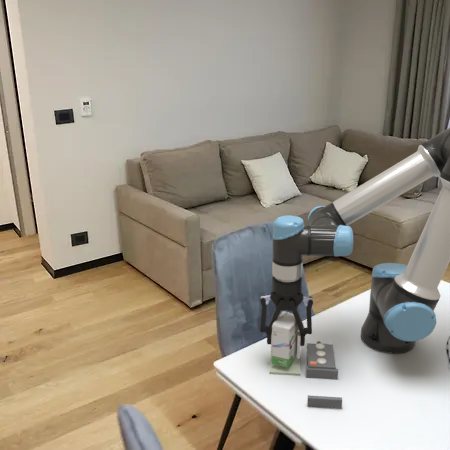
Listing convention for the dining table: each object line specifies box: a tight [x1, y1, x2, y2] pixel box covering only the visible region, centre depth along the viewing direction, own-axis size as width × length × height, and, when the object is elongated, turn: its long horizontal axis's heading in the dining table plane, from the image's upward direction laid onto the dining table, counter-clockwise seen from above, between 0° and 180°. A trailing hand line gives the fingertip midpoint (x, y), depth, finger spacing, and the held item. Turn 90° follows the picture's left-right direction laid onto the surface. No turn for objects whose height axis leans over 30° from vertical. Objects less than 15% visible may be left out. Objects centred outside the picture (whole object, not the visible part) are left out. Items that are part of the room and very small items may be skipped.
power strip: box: [305, 340, 343, 410], centre depth 135 cm, size 8×28×4 cm, turn 173°
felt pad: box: [268, 355, 301, 377], centre depth 139 cm, size 8×10×1 cm
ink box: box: [272, 310, 299, 368], centre depth 137 cm, size 8×5×12 cm, turn 154°
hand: (285, 354), depth 139 cm, fingers closed on ink box, 6 cm apart
